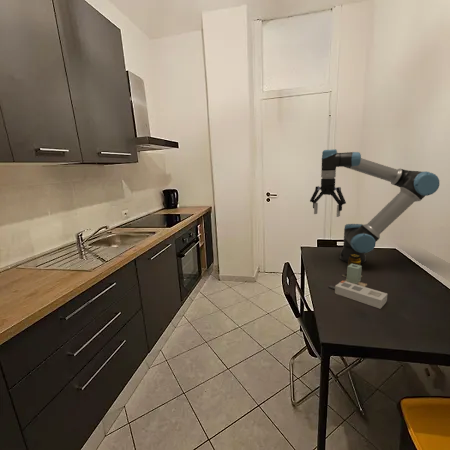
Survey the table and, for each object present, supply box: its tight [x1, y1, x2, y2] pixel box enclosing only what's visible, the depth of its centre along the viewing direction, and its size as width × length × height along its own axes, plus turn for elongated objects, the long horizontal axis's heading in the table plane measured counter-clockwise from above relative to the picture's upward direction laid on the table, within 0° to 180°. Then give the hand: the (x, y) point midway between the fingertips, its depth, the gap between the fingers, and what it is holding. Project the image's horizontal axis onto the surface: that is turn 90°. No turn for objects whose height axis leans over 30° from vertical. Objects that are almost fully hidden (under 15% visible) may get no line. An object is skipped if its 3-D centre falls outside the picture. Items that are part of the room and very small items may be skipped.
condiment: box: [341, 254, 363, 278], centre depth 143 cm, size 7×8×12 cm
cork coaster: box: [344, 278, 368, 287], centre depth 133 cm, size 10×10×1 cm
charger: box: [346, 264, 363, 285], centre depth 132 cm, size 5×5×10 cm
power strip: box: [328, 280, 388, 310], centre depth 123 cm, size 25×8×4 cm, turn 43°
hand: (326, 215), depth 151 cm, fingers open, 13 cm apart
